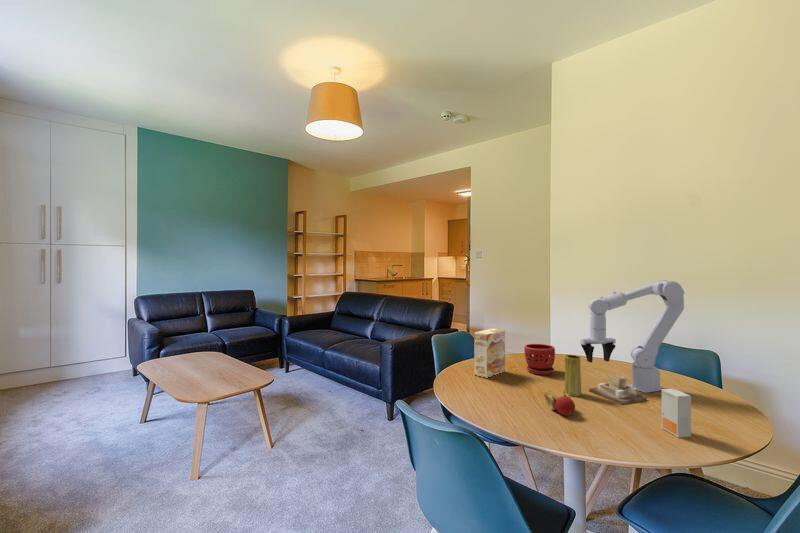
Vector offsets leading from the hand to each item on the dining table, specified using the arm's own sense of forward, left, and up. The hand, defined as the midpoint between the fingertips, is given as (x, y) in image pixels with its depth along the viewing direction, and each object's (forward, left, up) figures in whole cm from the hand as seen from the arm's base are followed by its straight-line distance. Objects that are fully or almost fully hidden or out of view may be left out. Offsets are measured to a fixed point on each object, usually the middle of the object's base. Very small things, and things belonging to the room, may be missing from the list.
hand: (598, 361), depth 147 cm
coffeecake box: (+34, -27, -10) cm, 44 cm away
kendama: (+33, +13, -10) cm, 37 cm away
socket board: (+4, +12, -9) cm, 16 cm away
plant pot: (+11, -22, -10) cm, 26 cm away
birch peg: (+4, +12, -8) cm, 15 cm away
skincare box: (+14, +40, -10) cm, 43 cm away
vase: (+18, +5, -10) cm, 21 cm away
